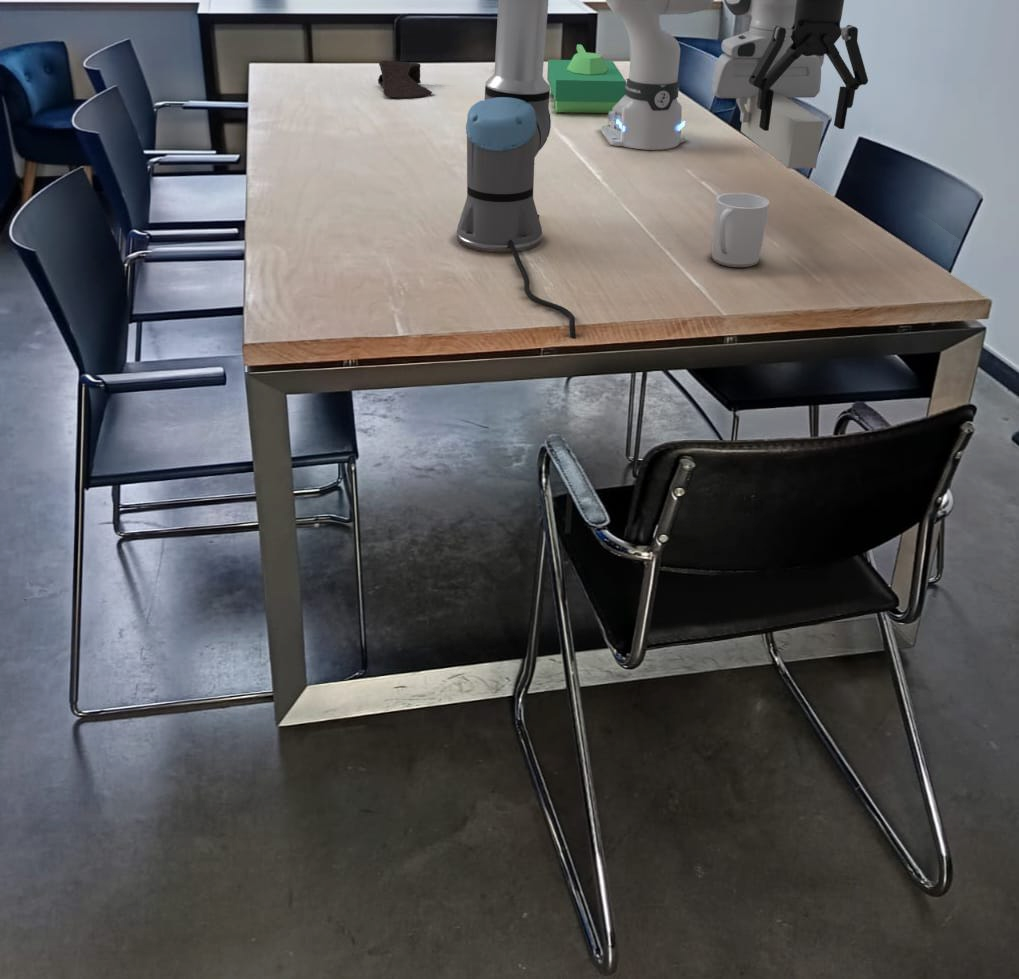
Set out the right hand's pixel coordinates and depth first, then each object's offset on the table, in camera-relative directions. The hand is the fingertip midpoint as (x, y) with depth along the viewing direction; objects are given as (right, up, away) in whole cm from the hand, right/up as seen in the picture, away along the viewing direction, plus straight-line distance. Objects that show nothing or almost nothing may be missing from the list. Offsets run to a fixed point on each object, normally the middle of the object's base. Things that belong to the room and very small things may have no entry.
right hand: (761, 121), depth 207 cm
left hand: (+3, -7, -18) cm, 19 cm away
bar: (+1, -7, -7) cm, 10 cm away
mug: (-9, -31, -19) cm, 37 cm away
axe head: (-77, +40, +93) cm, 127 cm away
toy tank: (-28, +35, +87) cm, 98 cm away
